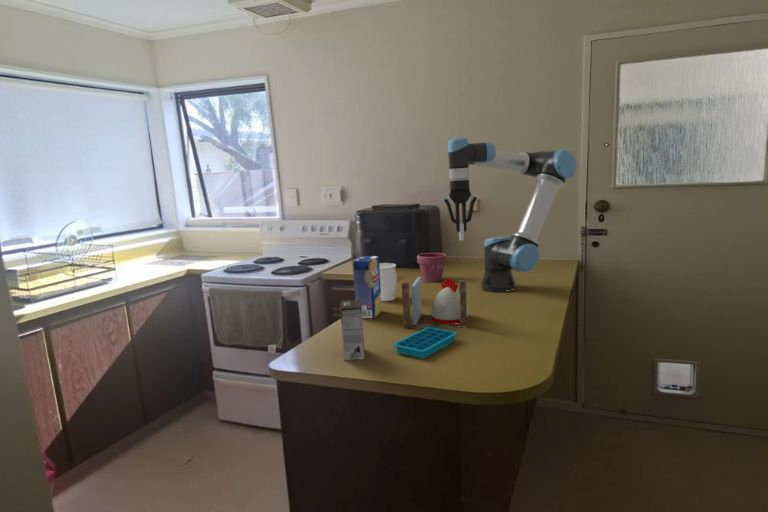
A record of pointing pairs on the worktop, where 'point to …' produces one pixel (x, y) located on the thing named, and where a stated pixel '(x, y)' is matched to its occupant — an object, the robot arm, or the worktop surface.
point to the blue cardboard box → (368, 285)
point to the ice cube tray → (425, 342)
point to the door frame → (408, 324)
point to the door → (416, 300)
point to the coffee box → (352, 329)
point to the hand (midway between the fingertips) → (461, 239)
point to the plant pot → (431, 266)
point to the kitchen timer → (447, 304)
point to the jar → (387, 281)
